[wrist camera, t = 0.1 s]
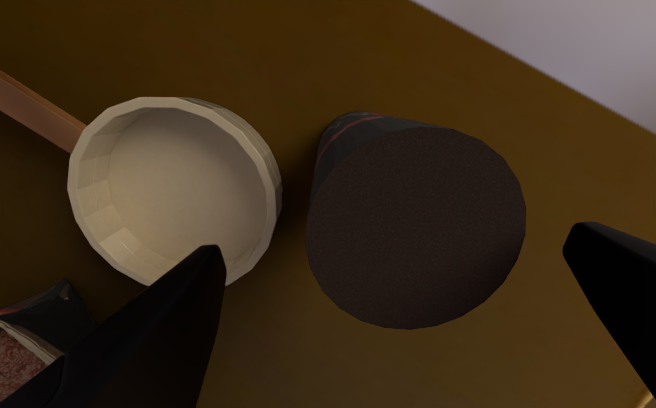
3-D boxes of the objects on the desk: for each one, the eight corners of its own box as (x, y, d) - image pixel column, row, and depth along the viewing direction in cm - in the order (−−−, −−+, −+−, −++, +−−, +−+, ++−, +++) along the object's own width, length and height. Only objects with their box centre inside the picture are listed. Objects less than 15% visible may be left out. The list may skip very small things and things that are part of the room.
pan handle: (84, 153, 20) (73, 156, 19) (-80, 51, 18) (-99, 49, 17) (95, 131, 20) (85, 132, 19) (-71, 24, 18) (-91, 19, 17)
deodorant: (302, 140, 22) (261, 207, 8) (374, 93, 21) (471, 75, 7) (345, 206, 24) (373, 359, 10) (413, 165, 23) (557, 268, 9)
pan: (225, 295, 26) (211, 323, 23) (76, 208, 24) (35, 225, 20) (317, 172, 23) (316, 184, 20) (155, 55, 21) (123, 46, 17)
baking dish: (-28, 324, 29) (-195, 444, 20) (80, 241, 24) (-84, 357, 15) (96, 406, 34) (4, 532, 25) (210, 353, 29) (145, 492, 20)
